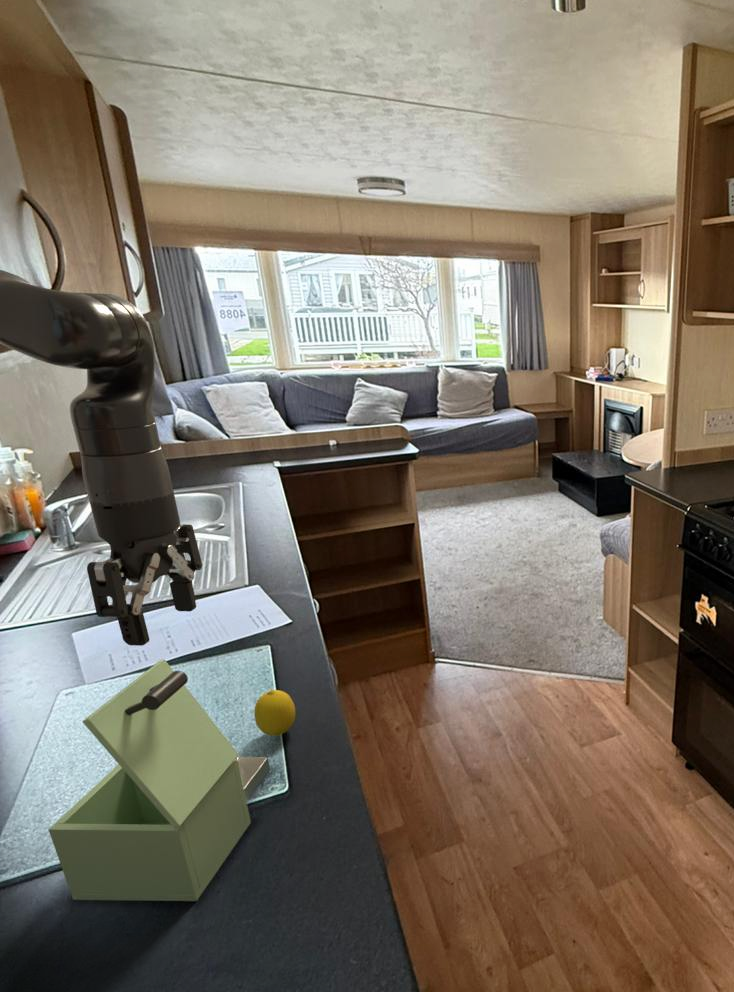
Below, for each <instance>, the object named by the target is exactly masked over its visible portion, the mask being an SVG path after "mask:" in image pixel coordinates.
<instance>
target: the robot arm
mask: <svg viewBox="0 0 734 992" xmlns="http://www.w3.org/2000/svg"><path fill="white" fill-rule="evenodd" d="M0 345H3V346H4V347H7V348H9V349H11V350H13V351H15V352H18V353H20V354H23V355H25V356H28V357H29V358H32V359H35V360H37V361H39V362H40V361H41V362H43V363H45V364H50V365H53V366H57V367H63V368H68V369H75V370H86V375H87V377H86V388H84V390H83V391H82V392H81V393H80V394H78V395H77V396H76V397H74V398H73V399H72V400H71V402H70V404H69V415H70V420H71V424H72V428H73V433H74V436H75V439H76V443H77V447H78V451H79V453H80V461H81V472H82V478H83V482H84V487H85V490H86V494H87V497H88V502H89V505H90V509H91V514H92V517H93V522H94V525H95V528H96V532H97V536H98V537H99V538H100V539H101V540H103V541H105V542H106V543H107V544H108V545H109V546H110V555H109V559H106V560H103V561H90V562H88V564H87V565H86V572H87V577H88V580H89V585H90V589H91V594H92V600H93V604H94V608H95V613H96V616H97V617H99V618H116V619H117V622H118V626H119V630H120V633H121V637H122V640H123V642H124V643H125V644H127V645H128V646H141V647H142V646H145V645H146V644H147V643H149V642H150V635H149V631H148V628H147V627H148V626H147V624H146V619H145V615H144V612H142V608H143V605H144V604H143V603H144V599H145V597H146V595H149V594H150V592H151V589H152V585H153V583H155V582H156V581H158V579H160V578H161V577H163V576H165V577H166V578H167V579H168V580H169V581H171V582H169V588H170V592H171V596H172V601H173V605H174V609H175V610H176V611H178V612H192V611H194V610H195V609H197V602H196V595H195V591H194V585H193V580H194V579H195V573H196V571H201V570H202V568H203V562H202V558H201V554H200V550H199V546H198V542H197V538H196V534H195V530H194V527H193V525H192V524H189V523H188V524H187V523H184V524H182V523H181V520H180V514H179V511H178V506H177V500H176V496H175V492H174V488H173V483H172V482H173V481H172V477H171V473H170V469H169V465H168V462H167V460H166V457H165V454H164V451H163V448H162V443H161V441H160V436H159V431H158V427H157V422H156V417H155V413H154V411H153V410H154V409H153V402H154V401H153V400H154V390H155V365H156V363H155V362H156V354H155V353H156V352H155V343H154V337H153V334H152V331H151V328H150V326H149V324H148V322H147V320H146V318H145V316H144V315H143V314H142V312H141V311H140V310H139V309H138V308H137V307H136V306H135V304H133V303H131V302H130V301H128V300H127V299H125V298H124V297H121V296H118V295H115V294H110V293H98V292H97V293H93V292H70V291H63V290H57V289H52V288H47V287H43V286H38V285H34V284H32V283H31V282H30V281H29V280H26V279H25V278H23V277H22V276H19V275H17V274H14V273H11V272H9V271H5V270H2V269H0ZM185 554H188V556H189V559H186V556H185ZM127 580H128V581H130V583H133V584H127ZM128 595H131V598H130V602H129V603H127V596H128ZM108 597H110V598H111V601H112V602H111V604H109V599H108Z"/></svg>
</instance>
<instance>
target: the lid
mask: <svg viewBox="0 0 734 992" xmlns="http://www.w3.org/2000/svg"><path fill="white" fill-rule="evenodd" d="M188 680H189V677H188V675H187V674H186V673H185V672H184V671H182V670H175V671H174V669H173V668H172V667H171V666H170V664H169V663H168V662H167V661H166V659H165V658H163V659H161V660H158V661H157V662H156V663H155V664H153V665H152V666H151V667H149V669H147V670H146V671H145V672H143V673H142V674H140V675H139V676H138V677H137V678H136V679H134V680H133V681H132V682H131V683H129V684H128V685H127V686H125V687H124V688H123V689H121V690H120V691H119V692H118V693H116V694H115V695H114V696H112V697H111V698H110V699H109V700H107V701H106V702H105V703H104V704H102V705H101V706H100V707H98V708H97V709H96V710H95V711H94V712H92V713H91V714H90V715H89V716H87V717H86V718H85V719H83V720H82V724H83V725H84V726H85V727H86V728H87V729H88V730H89V731H90V733H91V734H92V735H93V736H94V737H95V738H96V740H97V741H98V742H99V744H101V745H102V747H104V748H105V750H106V751H107V753H109V755H110V756H111V757H112V758H113V760H115V761H116V764H117V765H118V764H119V765H120V766H121V767H122V768H123V770H124V771H125V772H126V773H127V774H128V775H129V777H130V778H131V779H132V780H133V781H134V782H135V783H136V785H137V786H138V787H139V788H140V789H141V790H142V792H143V793H144V794H145V795H146V796H147V797H148V799H149V800H150V801H151V802H152V803H153V804H154V806H155V807H156V808H157V809H158V810H159V811H160V812H161V814H162V815H163V816H164V817H165V818H166V819H167V821H168V822H169V823H170V824H171V825H172V826H173V828H176V827H179V826H180V825H181V824H182V823H183V822H184V820H185V819H186V818H187V817H188V816H189V814H190V813H191V812H192V811H193V809H194V808H195V807H196V806H197V805H198V803H199V802H200V801H201V800H202V799H203V797H204V796H205V795H206V794H207V792H208V791H209V790H210V789H211V788H212V786H213V785H214V784H215V783H216V782H217V780H218V779H219V778H220V777H221V775H222V774H223V773H224V772H225V771H226V769H227V768H228V767H229V766H230V765H231V763H232V762H233V761H234V760H235V758H236V757H237V756H238V757H239V752H238V751H237V750H236V749H235V747H234V746H233V745H232V744H231V742H230V741H229V740H228V739H227V737H226V736H225V735H224V734H223V732H222V731H221V730H220V728H219V727H218V726H217V724H216V723H215V722H214V720H212V718H211V716H210V715H209V714H208V713H207V712H206V711H205V709H204V708H203V707H202V705H201V704H200V702H199V701H198V700H197V698H195V696H194V695H193V694H192V693H191V691H190V690H189V689H188V688H187V686H186V684H187V683H188Z"/></svg>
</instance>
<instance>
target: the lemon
mask: <svg viewBox="0 0 734 992" xmlns="http://www.w3.org/2000/svg"><path fill="white" fill-rule="evenodd" d="M254 720H255V724H256V726H257V728H258V729H259V730H260V732H262V733H264V734H265V735H267V736H271V737H272V736H277V737H281V736H282V735H283V734H284V733H286V732H288V731H289V730H290V729H291V728H292V726H293V725H294V722H295V720H296V706H295V703H294V701H293V700H292V697H291V696H290V695H289V694H288V693H286V692H285V691H283V690H279V689H269V690H268V691H267V692H265V693H263V694H261V696H260V697H259V698H258V699H257V700H256V703H255V706H254Z"/></svg>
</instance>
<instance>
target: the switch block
mask: <svg viewBox="0 0 734 992" xmlns="http://www.w3.org/2000/svg"><path fill="white" fill-rule="evenodd" d="M235 759H237V761H238V766H239V770H240V775H241V780H242V784H243V789H244V793H245V798H246V802H247V803H248V801H249V800H250V799H251V797H252V796H253V794H254V793H255V792H256V791H257V790H258V787H259V786H260V785H261V784H262V782H263V781H264V780H265V778H266V777H267V775H268V774H269V773H270V771H271V767H270V762H269V757H266V756H265V757H261V756H255V757H253V756H251V757H250V756H239V755H238V756H237V757H236V758H235Z"/></svg>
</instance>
